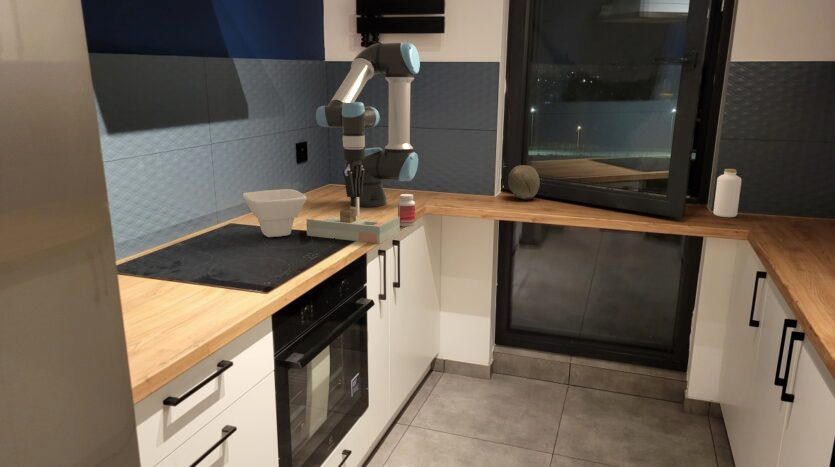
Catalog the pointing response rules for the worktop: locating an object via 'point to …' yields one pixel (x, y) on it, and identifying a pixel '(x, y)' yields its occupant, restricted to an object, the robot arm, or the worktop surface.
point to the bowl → (275, 209)
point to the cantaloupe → (524, 182)
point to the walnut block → (347, 215)
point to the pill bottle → (406, 210)
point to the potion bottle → (727, 194)
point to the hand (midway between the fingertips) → (355, 215)
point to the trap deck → (354, 229)
